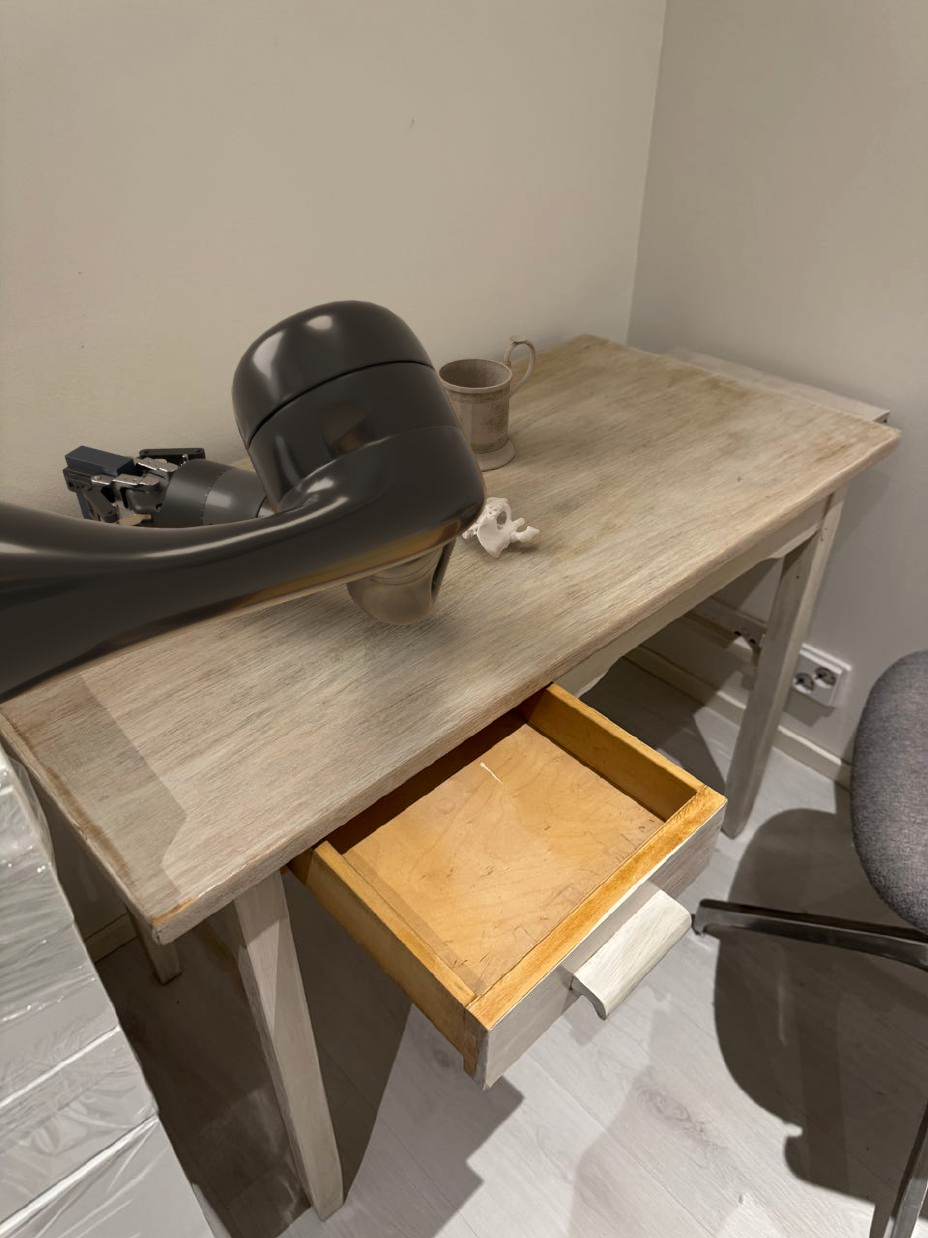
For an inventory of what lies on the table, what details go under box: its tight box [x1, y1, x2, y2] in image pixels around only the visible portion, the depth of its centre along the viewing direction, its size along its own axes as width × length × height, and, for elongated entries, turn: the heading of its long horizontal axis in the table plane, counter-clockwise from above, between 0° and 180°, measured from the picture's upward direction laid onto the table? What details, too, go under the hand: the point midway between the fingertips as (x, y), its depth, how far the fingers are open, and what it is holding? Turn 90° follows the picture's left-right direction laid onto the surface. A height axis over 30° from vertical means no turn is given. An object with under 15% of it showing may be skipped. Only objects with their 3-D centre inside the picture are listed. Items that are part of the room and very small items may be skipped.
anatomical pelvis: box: [461, 496, 540, 559], centre depth 89 cm, size 8×4×7 cm
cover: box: [64, 445, 158, 528], centre depth 83 cm, size 10×9×10 cm
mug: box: [436, 335, 537, 472], centre depth 103 cm, size 14×10×12 cm
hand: (78, 469), depth 82 cm, fingers closed on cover
